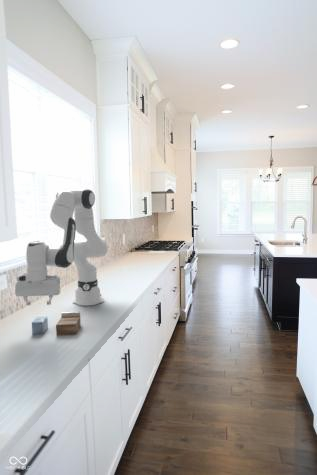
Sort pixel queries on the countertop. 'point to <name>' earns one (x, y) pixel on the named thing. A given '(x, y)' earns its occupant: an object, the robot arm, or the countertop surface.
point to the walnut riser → (68, 323)
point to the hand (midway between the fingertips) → (38, 304)
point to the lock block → (39, 325)
